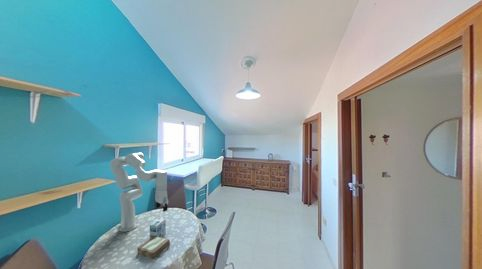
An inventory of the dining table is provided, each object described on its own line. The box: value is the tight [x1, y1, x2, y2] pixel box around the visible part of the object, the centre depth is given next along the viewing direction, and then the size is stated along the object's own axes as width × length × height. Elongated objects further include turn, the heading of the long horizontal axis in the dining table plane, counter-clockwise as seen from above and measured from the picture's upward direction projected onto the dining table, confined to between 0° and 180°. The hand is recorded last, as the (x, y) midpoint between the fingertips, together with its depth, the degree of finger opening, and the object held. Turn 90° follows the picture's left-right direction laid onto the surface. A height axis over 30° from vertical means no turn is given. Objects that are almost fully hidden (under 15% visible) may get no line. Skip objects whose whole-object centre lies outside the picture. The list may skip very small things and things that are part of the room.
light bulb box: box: [149, 217, 167, 239], centre depth 132 cm, size 11×7×11 cm, turn 168°
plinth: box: [137, 236, 171, 260], centre depth 117 cm, size 14×14×4 cm
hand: (161, 209), depth 130 cm, fingers open, 9 cm apart
